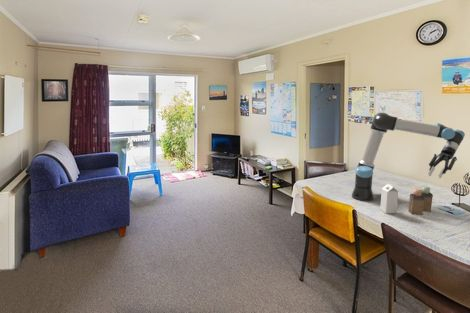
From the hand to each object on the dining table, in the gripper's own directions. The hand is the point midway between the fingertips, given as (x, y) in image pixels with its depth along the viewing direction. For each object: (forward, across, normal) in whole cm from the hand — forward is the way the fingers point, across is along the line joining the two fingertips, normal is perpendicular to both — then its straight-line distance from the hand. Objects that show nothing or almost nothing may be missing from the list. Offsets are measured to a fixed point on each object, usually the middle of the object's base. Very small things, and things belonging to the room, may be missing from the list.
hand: (434, 175), depth 195 cm
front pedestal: (+29, 0, -2) cm, 29 cm away
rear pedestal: (+22, 0, -9) cm, 24 cm away
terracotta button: (+21, 0, +6) cm, 22 cm away
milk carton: (+38, +11, +6) cm, 40 cm away
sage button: (+14, 0, -1) cm, 14 cm away
